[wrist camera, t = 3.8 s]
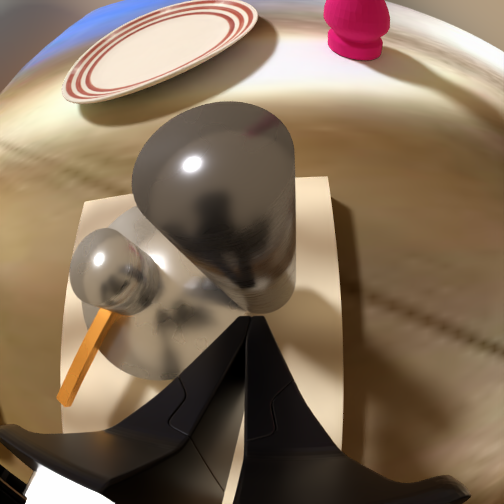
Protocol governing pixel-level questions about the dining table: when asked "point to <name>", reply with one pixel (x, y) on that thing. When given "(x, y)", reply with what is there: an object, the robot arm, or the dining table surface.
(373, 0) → the pepper mill
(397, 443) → the dining table surface
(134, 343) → the shiny grey rounded pieces
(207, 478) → the robot arm
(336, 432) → the stand
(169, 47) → the dinner plate
